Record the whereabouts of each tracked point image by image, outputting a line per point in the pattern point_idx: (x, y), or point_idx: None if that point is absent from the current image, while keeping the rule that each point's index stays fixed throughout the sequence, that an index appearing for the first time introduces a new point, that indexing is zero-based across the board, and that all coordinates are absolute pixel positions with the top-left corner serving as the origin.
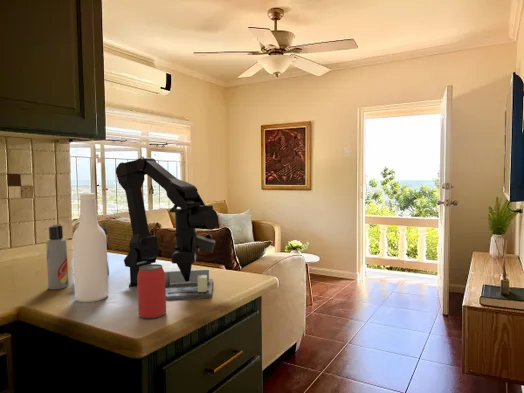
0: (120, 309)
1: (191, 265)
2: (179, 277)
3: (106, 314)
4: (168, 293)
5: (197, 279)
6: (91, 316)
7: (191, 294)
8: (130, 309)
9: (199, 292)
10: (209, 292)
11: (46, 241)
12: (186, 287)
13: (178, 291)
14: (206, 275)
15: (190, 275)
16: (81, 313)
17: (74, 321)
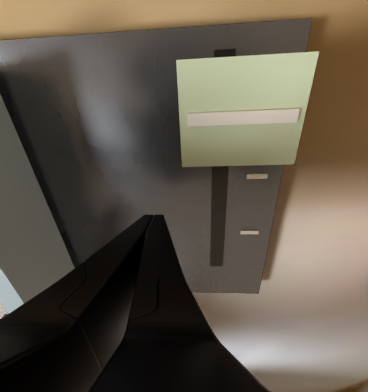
0: (306, 342)
1: (93, 295)
2: (46, 263)
3: (334, 357)
4: (222, 263)
5: (287, 159)
6: (333, 373)
7: (270, 165)
8: (319, 325)
9: None
10: (265, 38)
11: None
12: (128, 203)
13: (196, 231)
14: (198, 62)
15: (11, 216)
16: (299, 386)
17: (351, 387)
